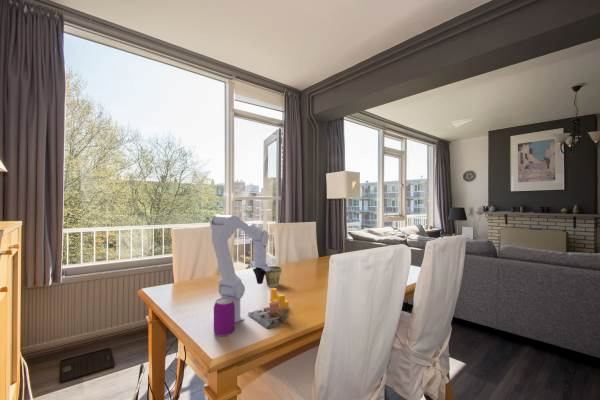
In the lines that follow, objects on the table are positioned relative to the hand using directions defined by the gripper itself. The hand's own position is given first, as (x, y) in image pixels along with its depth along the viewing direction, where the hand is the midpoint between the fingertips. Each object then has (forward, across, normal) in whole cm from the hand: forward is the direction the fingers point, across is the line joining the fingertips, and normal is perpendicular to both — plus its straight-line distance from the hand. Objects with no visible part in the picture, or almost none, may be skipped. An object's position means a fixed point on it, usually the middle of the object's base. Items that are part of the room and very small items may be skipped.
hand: (259, 283), depth 137 cm
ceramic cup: (+10, +23, -22) cm, 33 cm away
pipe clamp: (+10, -6, -7) cm, 14 cm away
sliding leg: (+8, -16, +5) cm, 19 cm away
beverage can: (+10, -17, +25) cm, 32 cm away
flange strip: (+10, -16, +8) cm, 21 cm away
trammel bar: (+10, -16, +5) cm, 20 cm away
